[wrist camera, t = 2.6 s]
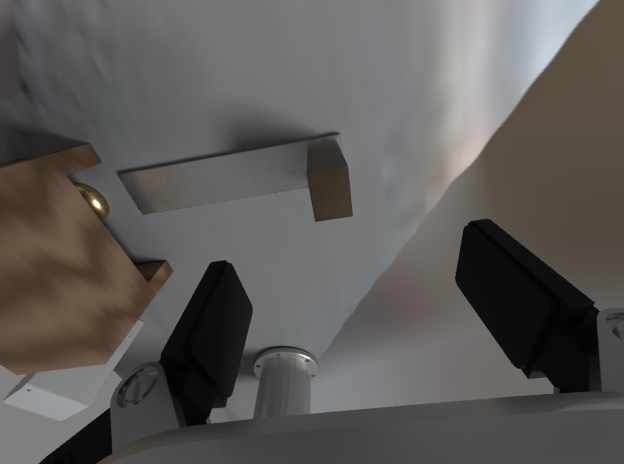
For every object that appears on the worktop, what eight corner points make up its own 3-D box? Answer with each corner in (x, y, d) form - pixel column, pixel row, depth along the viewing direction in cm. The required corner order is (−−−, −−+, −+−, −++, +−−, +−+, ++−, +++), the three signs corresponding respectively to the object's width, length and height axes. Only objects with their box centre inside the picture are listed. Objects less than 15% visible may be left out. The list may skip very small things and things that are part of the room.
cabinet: (173, 270, 35) (106, 364, 23) (111, 280, 36) (16, 375, 24) (84, 135, 25) (-108, 181, 14) (1, 154, 26) (-243, 211, 14)
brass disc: (119, 215, 30) (110, 221, 29) (83, 222, 31) (74, 228, 30) (93, 178, 28) (82, 182, 26) (54, 186, 28) (42, 191, 27)
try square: (344, 178, 28) (359, 220, 19) (147, 210, 30) (83, 262, 21) (339, 132, 25) (354, 158, 17) (124, 171, 27) (40, 212, 19)
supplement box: (80, 316, 40) (-4, 402, 29) (105, 298, 38) (23, 384, 27) (121, 338, 43) (59, 423, 32) (146, 322, 41) (88, 408, 30)
